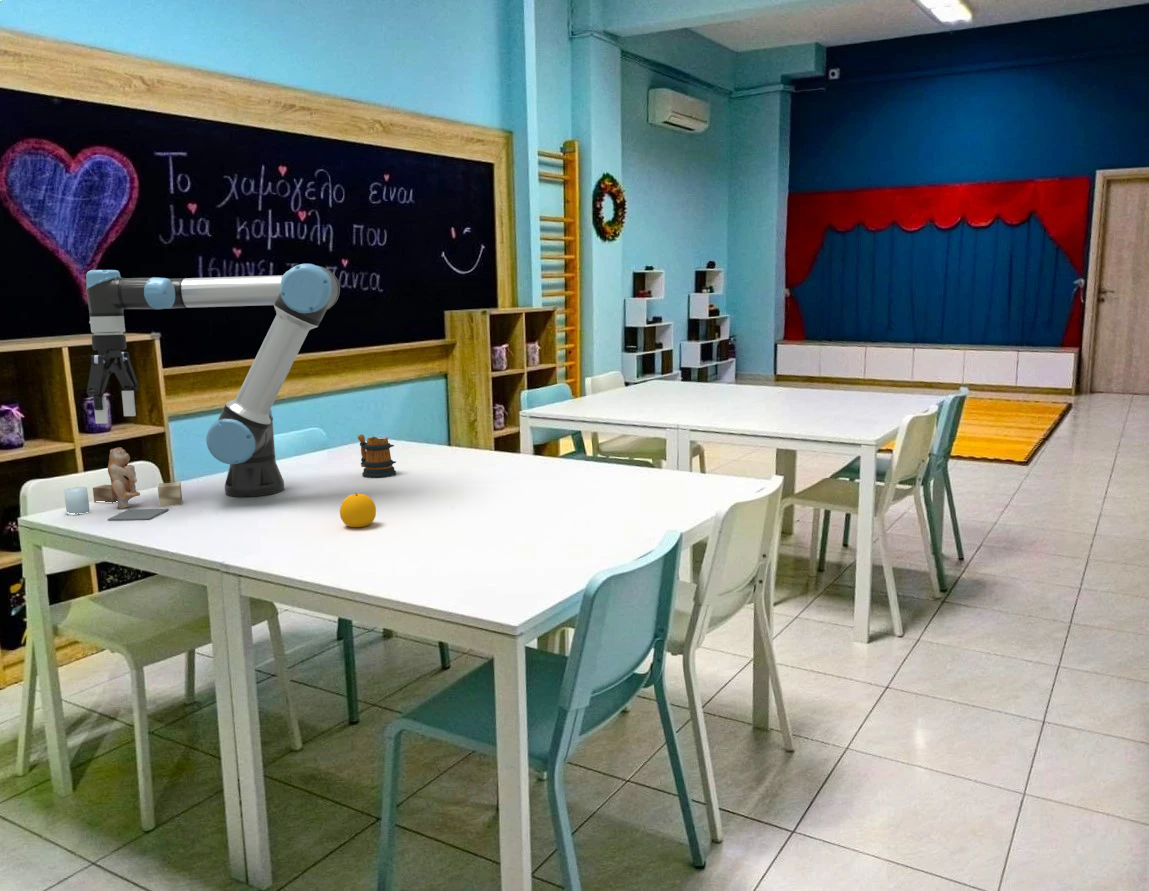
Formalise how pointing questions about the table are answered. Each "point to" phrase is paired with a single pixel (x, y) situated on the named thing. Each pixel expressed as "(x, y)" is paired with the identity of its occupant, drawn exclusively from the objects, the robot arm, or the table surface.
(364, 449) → the mug
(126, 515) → the grey mat
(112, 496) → the walnut block
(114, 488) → the figurine
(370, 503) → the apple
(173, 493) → the beech block
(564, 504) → the table surface
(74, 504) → the pale blue rounded block
